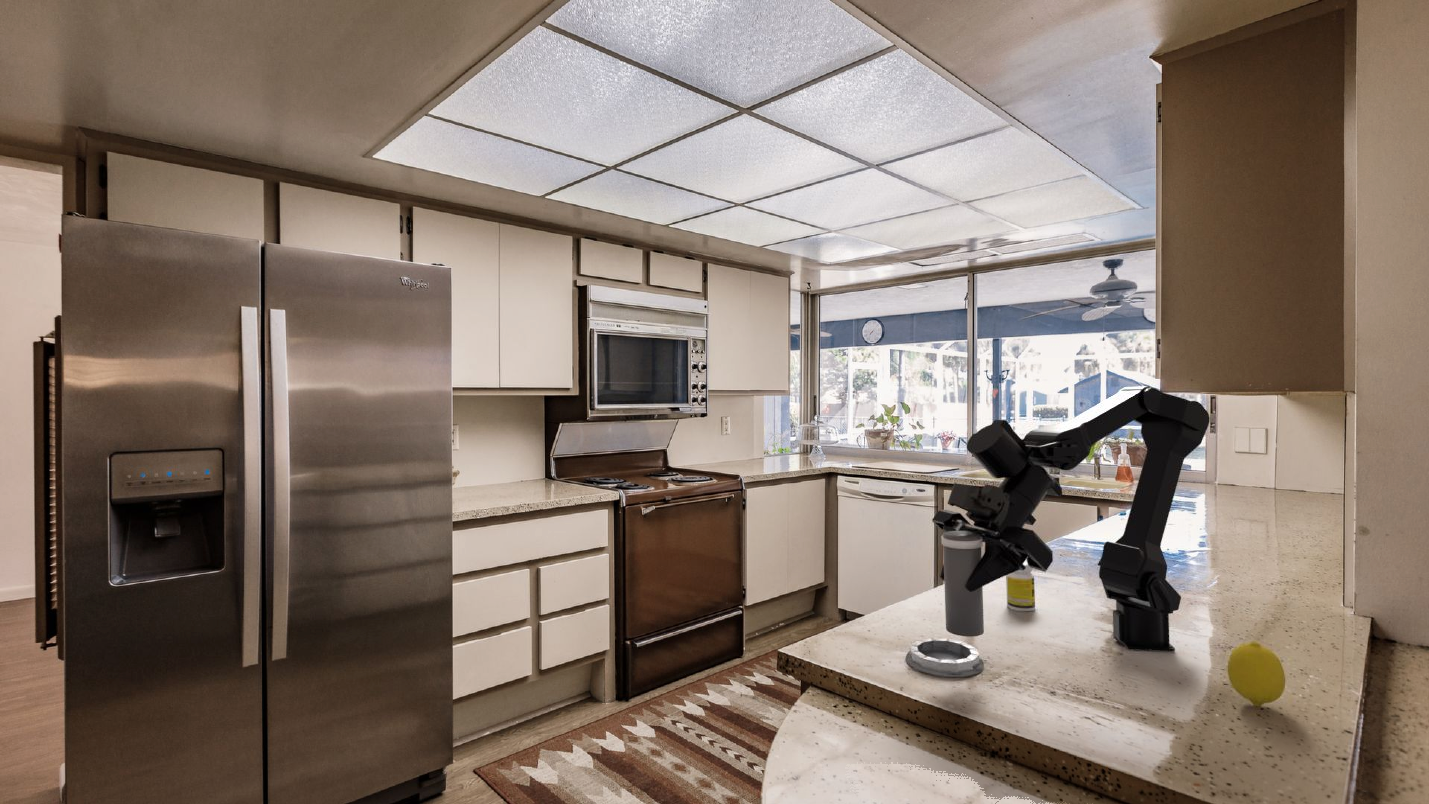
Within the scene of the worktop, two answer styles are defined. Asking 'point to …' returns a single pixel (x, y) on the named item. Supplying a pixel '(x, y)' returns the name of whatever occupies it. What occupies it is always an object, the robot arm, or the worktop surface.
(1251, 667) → the lemon
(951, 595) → the grey cylinder
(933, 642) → the mount ring
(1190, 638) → the worktop surface
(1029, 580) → the supplement bottle
